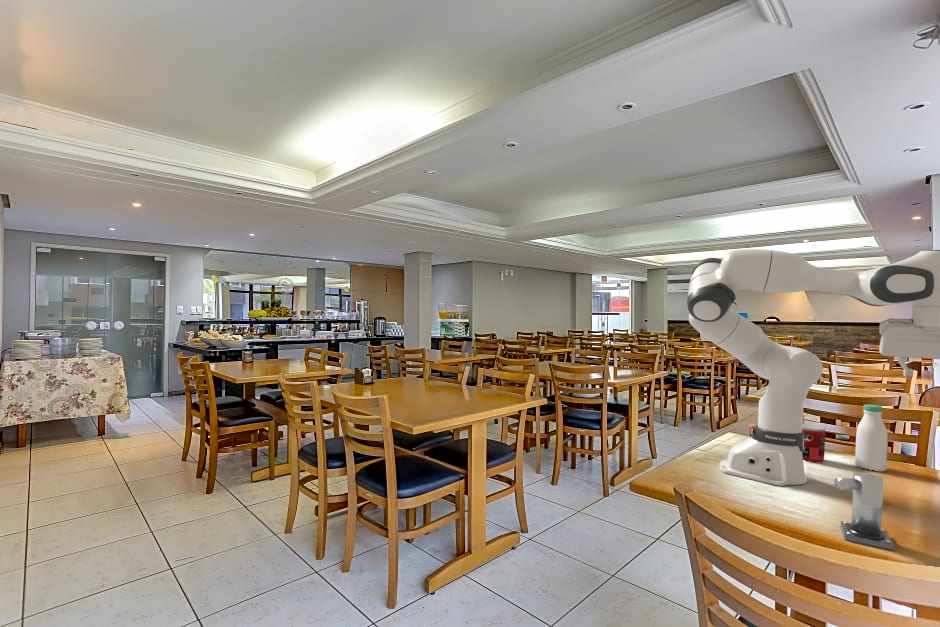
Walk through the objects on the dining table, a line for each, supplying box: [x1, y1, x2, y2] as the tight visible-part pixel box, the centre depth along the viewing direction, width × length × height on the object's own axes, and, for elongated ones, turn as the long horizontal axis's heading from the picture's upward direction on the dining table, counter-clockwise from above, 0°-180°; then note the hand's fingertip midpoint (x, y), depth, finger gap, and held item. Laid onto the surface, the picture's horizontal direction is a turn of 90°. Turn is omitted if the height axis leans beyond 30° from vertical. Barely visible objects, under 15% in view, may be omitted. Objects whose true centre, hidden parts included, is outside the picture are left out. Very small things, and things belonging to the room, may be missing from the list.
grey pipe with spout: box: [833, 472, 884, 537], centre depth 105 cm, size 9×5×12 cm, turn 90°
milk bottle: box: [854, 403, 889, 472], centre depth 153 cm, size 8×8×20 cm
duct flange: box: [840, 520, 895, 551], centre depth 105 cm, size 8×8×2 cm
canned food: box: [802, 423, 826, 463], centre depth 161 cm, size 8×8×11 cm
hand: (934, 378), depth 113 cm, fingers open, 8 cm apart
